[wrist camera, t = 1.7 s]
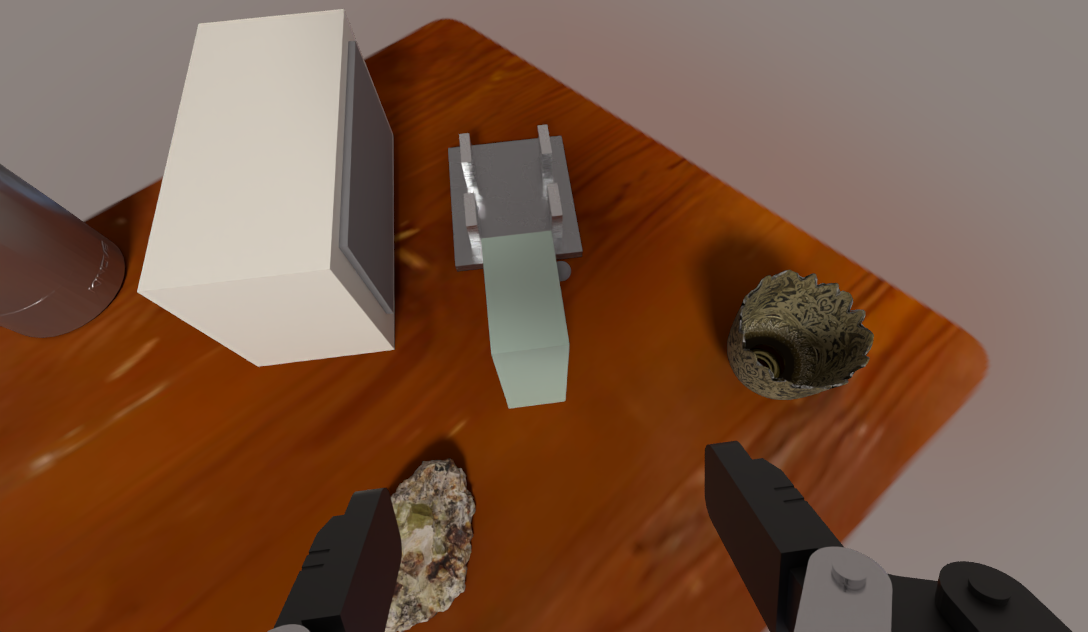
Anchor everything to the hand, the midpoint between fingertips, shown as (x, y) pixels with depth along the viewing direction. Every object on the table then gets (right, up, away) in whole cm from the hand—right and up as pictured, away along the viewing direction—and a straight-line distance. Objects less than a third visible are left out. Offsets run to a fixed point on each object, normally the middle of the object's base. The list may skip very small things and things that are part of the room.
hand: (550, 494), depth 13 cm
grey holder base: (-3, +14, +30) cm, 34 cm away
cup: (+15, +1, +24) cm, 29 cm away
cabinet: (-18, +11, +29) cm, 36 cm away
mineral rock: (-8, -10, +20) cm, 24 cm away
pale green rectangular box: (-1, +1, +25) cm, 25 cm away
